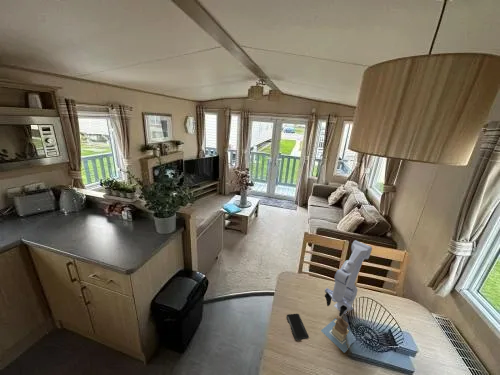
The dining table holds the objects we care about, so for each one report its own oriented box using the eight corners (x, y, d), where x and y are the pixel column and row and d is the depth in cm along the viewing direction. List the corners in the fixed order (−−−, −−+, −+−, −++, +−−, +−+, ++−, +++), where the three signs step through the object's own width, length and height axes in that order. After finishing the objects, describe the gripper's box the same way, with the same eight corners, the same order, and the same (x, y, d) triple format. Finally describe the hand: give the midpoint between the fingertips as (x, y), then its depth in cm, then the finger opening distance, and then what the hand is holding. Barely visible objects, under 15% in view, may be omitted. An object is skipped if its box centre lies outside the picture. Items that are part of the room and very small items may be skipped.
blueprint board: (335, 319, 124) (335, 318, 124) (358, 338, 113) (358, 337, 113) (320, 331, 116) (320, 330, 116) (344, 353, 105) (344, 352, 105)
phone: (295, 339, 110) (286, 314, 124) (295, 341, 110) (285, 316, 124) (309, 338, 111) (298, 313, 125) (309, 339, 112) (298, 314, 126)
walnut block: (339, 323, 116) (340, 317, 115) (346, 330, 113) (348, 323, 111) (334, 327, 114) (336, 321, 112) (342, 334, 110) (343, 328, 109)
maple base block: (337, 327, 119) (339, 321, 117) (347, 335, 114) (349, 330, 113) (331, 332, 115) (332, 327, 114) (341, 341, 111) (343, 336, 109)
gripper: (323, 285, 116) (319, 304, 121) (348, 303, 106) (342, 323, 110) (330, 280, 121) (326, 298, 125) (355, 297, 110) (349, 317, 114)
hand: (334, 310), depth 117 cm, fingers open, 7 cm apart
